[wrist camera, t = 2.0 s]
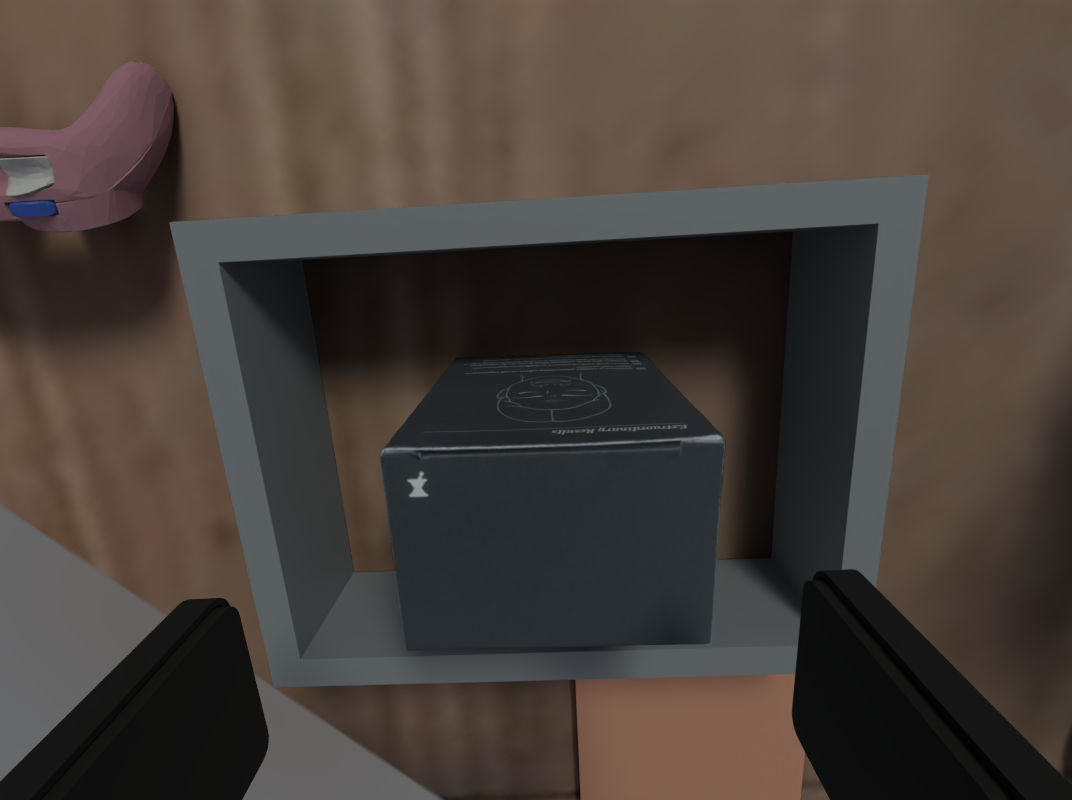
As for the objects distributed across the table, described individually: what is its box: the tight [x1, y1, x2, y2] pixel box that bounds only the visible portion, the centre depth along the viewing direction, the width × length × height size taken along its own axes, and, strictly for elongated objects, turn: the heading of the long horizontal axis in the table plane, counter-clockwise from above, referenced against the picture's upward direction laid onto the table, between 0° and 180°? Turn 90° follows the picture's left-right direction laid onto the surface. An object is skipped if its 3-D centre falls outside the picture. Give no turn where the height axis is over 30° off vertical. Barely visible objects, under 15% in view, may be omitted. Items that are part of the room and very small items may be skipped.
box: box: [380, 352, 726, 651], centre depth 17 cm, size 8×6×11 cm
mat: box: [575, 674, 805, 800], centre depth 26 cm, size 11×11×1 cm
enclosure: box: [169, 175, 929, 687], centre depth 20 cm, size 21×16×6 cm
